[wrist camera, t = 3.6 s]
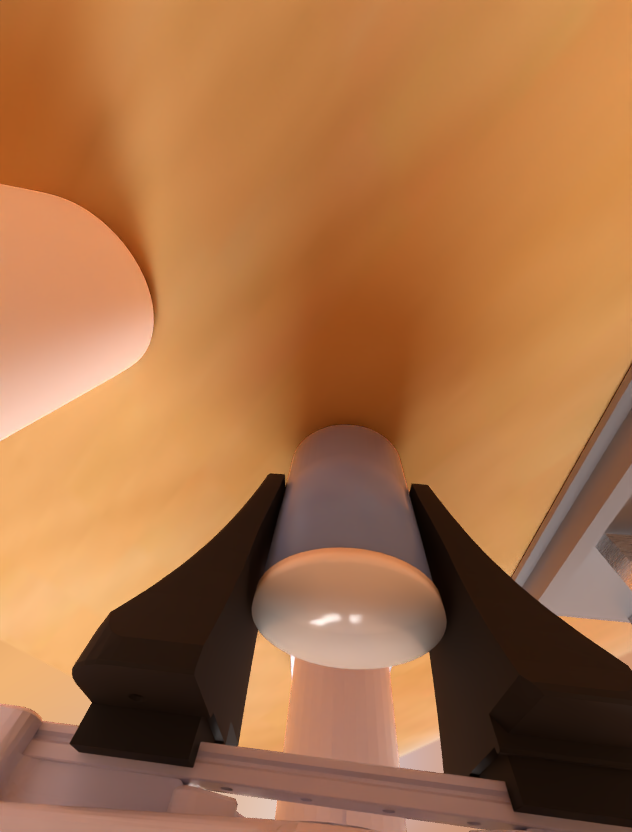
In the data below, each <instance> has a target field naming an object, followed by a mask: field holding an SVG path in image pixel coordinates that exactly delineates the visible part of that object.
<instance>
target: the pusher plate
mask: <svg viewBox="0 0 632 832" xmlns="http://www.w3.org/2000/svg"><path fill="white" fill-rule="evenodd" d="M595 547H596V549H597V550H598V551H599V552H600V553H601V555H602V556H603V557H604V558H605V559H606V561H607V562H608V563H609V564H610V565H611V567H612V568H613V569H614V570H615V571H616V573H617V574H618V575H619V576H620V577H621V579H622V580H623V581H624V582H625V583H626V585H627V586H628V587H629V588H630V589H631V591H632V536H631V535H619V534H606V533H605V534H604V535H603V537H602V538H601V539H600V541H599V542H598V543H597V545H596V546H595Z"/></svg>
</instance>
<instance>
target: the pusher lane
mask: <svg viewBox="0 0 632 832" xmlns="http://www.w3.org/2000/svg"><path fill="white" fill-rule="evenodd" d="M605 533H606V534H619V535H631V536H632V366H631V367H630V369H629V371H628V373H627V374H626V376H625V378H624V380H623V382H622V383H621V385H620V387H619V389H618V390H617V392H616V394H615V396H614V397H613V399H612V401H611V403H610V404H609V406H608V408H607V410H606V412H605V413H604V415H603V417H602V419H601V420H600V422H599V424H598V426H597V427H596V429H595V431H594V433H593V435H592V436H591V438H590V440H589V442H588V443H587V445H586V447H585V449H584V450H583V452H582V454H581V456H580V457H579V459H578V461H577V463H576V465H575V466H574V468H573V470H572V472H571V473H570V475H569V477H568V479H567V480H566V482H565V484H564V486H563V488H562V489H561V491H560V493H559V495H558V496H557V498H556V500H555V502H554V503H553V505H552V507H551V509H550V510H549V512H548V514H547V516H546V518H545V519H544V521H543V523H542V525H541V526H540V528H539V530H538V532H537V533H536V535H535V537H534V539H533V541H532V542H531V544H530V546H529V548H528V549H527V551H526V553H525V555H524V556H523V558H522V560H521V562H520V563H519V565H518V567H517V569H516V571H515V572H514V574H513V576H512V579H513V580H514V581H515V582H516V583H517V584H519V585H520V586H521V587H522V588H523V589H525V590H526V591H527V592H528V593H529V594H530V595H532V596H533V597H534V598H535V599H536V600H538V601H539V602H540V603H541V604H543V605H544V606H545V607H546V608H548V609H549V610H550V611H552V612H553V613H554V614H555V615H557V616H567V617H577V618H587V619H598V620H608V621H618V622H629V623H631V624H632V591H631V589H630V588H629V587H628V586H627V585H626V583H625V582H624V581H623V580H622V579H621V577H620V576H619V575H618V574H617V573H616V571H615V570H614V569H613V568H612V567H611V565H610V564H609V563H608V562H607V561H606V559H605V558H604V557H603V556H602V555H601V553H600V552H599V551H598V550H597V549H596V547H595V546H596V545H597V543H598V542H599V541H600V539H601V538H602V537H603V535H604V534H605Z"/></svg>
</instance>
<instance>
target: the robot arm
mask: <svg viewBox="0 0 632 832" xmlns="http://www.w3.org/2000/svg"><path fill="white" fill-rule="evenodd" d="M284 490H285V474H272V473H270V474H269V475H267V477H266V478H265V480H264V481H263V483H262V484H261V485H260V487H259V488H258V489H257V491H256V492H255V493H254V494H253V496H252V497H251V498H250V499H249V501H248V502H247V503H246V504H245V505H244V506H243V508H242V509H241V510H240V511H239V512H238V513H237V514H236V516H235V517H234V518H233V519H232V520H231V521H230V522H229V523H228V524H227V525H226V526H225V527H224V528H223V529H222V530H221V531H220V532H219V533H218V534H217V535H216V536H215V537H214V538H213V539H212V540H211V541H210V542H208V543H207V544H206V545H205V546H204V547H203V548H202V549H200V550H199V551H198V552H197V553H196V554H194V555H193V556H192V557H191V558H190V559H188V560H187V561H186V562H185V563H183V564H182V565H181V566H180V567H178V568H177V569H175V570H174V571H173V572H171V573H170V574H169V575H167V576H166V577H164V578H163V579H162V580H160V581H159V582H157V583H156V584H155V585H153V586H152V587H150V588H149V589H147V590H146V591H144V592H142V593H141V594H139V595H138V596H136V597H134V598H133V599H131V600H130V601H128V602H126V603H125V604H123V605H122V606H120V607H118V608H117V609H115V610H113V611H111V612H110V613H109V615H108V616H107V618H106V619H105V620H104V622H103V623H102V624H101V625H100V627H99V628H98V630H97V631H96V632H95V634H94V635H93V637H92V639H91V640H90V642H89V643H88V645H87V646H86V648H85V649H84V651H83V652H82V654H81V656H80V657H79V659H78V660H77V662H76V663H75V665H74V666H73V668H72V676H73V679H74V680H75V682H76V684H77V685H78V686H79V687H80V689H81V690H82V691H83V692H84V693H85V695H86V696H87V697H88V698H89V699H90V701H91V702H92V704H91V705H90V707H89V709H88V711H87V713H86V715H85V716H84V718H83V720H82V722H81V723H80V725H79V726H77V725H70V724H62V723H54V722H47V721H42V719H41V717H40V716H39V715H38V714H37V713H36V712H34V711H33V710H31V709H28V708H25V707H20V706H14V705H6V704H0V832H407V830H406V822H405V818H407V819H414V820H421V821H428V822H435V823H443V824H450V825H457V826H464V827H471V828H478V829H485V830H477V831H474V830H472V831H469V832H632V670H631V669H630V668H629V666H628V665H626V664H625V663H623V662H622V661H620V660H619V659H617V658H616V657H614V656H613V655H612V654H610V653H609V652H607V651H606V650H604V649H603V648H601V647H600V646H598V645H597V644H595V643H594V642H592V641H591V640H590V639H588V638H587V637H585V636H584V635H582V634H581V633H580V632H578V631H577V630H575V629H574V628H573V627H571V626H570V625H569V624H567V623H566V622H565V621H563V620H562V619H561V618H559V617H558V616H557V615H555V614H554V613H553V612H552V611H550V610H549V609H548V608H546V607H545V606H544V605H543V604H541V603H540V602H539V601H538V600H536V599H535V598H534V597H533V596H532V595H530V594H529V593H528V592H527V591H526V590H525V589H523V588H522V587H521V586H520V585H519V584H517V583H516V582H515V581H514V580H513V579H512V578H511V577H510V576H508V575H507V574H506V573H505V572H504V571H503V570H502V569H501V568H500V567H499V566H498V565H497V564H496V563H495V562H494V561H492V560H491V559H490V558H489V557H488V556H487V555H486V554H485V553H484V552H483V550H482V549H481V548H480V547H479V546H478V545H477V544H476V543H475V542H474V541H473V540H472V539H471V538H470V536H469V535H468V534H467V533H466V532H465V531H464V530H463V528H462V527H461V526H460V525H459V524H458V523H457V521H456V520H455V519H454V518H453V517H452V515H451V514H450V513H449V512H448V510H447V509H446V508H445V507H444V505H443V504H442V503H441V502H440V500H439V499H438V498H437V496H436V495H435V494H434V493H433V491H432V490H431V489H430V487H429V486H428V485H422V484H412V485H411V489H410V493H409V494H410V497H411V501H412V505H413V509H414V513H415V516H416V520H417V524H418V528H419V531H420V535H421V539H422V543H423V547H424V550H425V554H426V558H427V562H428V565H429V569H430V573H431V577H432V581H433V583H434V585H435V586H436V588H437V589H438V591H439V594H440V596H441V599H442V603H443V606H444V610H445V614H446V619H447V623H446V630H445V633H444V635H443V637H442V639H441V640H440V642H439V643H438V644H437V645H436V646H435V647H434V648H433V649H431V650H430V651H429V653H430V660H431V667H432V674H433V682H434V689H435V697H436V705H437V713H438V722H439V731H440V741H441V749H442V758H443V770H444V773H436V772H428V771H420V770H413V769H405V768H400V765H399V755H398V745H397V736H396V727H395V717H394V708H393V698H392V689H391V679H390V671H391V668H392V666H391V667H385V668H378V669H342V668H334V667H328V666H323V665H318V664H315V663H311V662H308V661H305V660H302V659H299V658H297V657H294V656H292V655H291V679H292V684H291V692H290V700H289V708H288V717H287V725H286V733H285V741H284V749H283V752H276V751H268V750H260V749H253V748H245V747H238V744H239V737H240V731H241V725H242V718H243V712H244V706H245V700H246V694H247V688H248V682H249V677H250V671H251V665H252V659H253V654H254V648H255V643H256V638H257V632H258V629H257V627H256V625H255V623H254V621H253V617H252V603H253V599H254V595H255V591H256V587H257V585H258V582H259V580H260V578H261V577H262V576H263V574H264V570H265V566H266V562H267V558H268V554H269V550H270V546H271V542H272V538H273V534H274V530H275V526H276V522H277V518H278V514H279V510H280V506H281V502H282V498H283V494H284ZM208 790H209V791H208ZM211 791H216V792H223V793H230V794H237V795H245V796H251V797H258V798H265V799H273V800H277V807H276V815H275V820H272V819H257V818H245V817H243V816H242V815H241V814H239V813H238V812H237V811H236V810H237V805H238V804H237V801H236V799H234V798H231V797H228V796H224V795H221V794H218V793H214V792H211Z"/></svg>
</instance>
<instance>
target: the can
mask: <svg viewBox="0 0 632 832" xmlns="http://www.w3.org/2000/svg"><path fill="white" fill-rule="evenodd" d="M153 327H154V312H153V305H152V300H151V295H150V292H149V289H148V286H147V283H146V280H145V278H144V276H143V274H142V272H141V270H140V268H139V266H138V264H137V262H136V261H135V259H134V257H133V256H132V254H131V253H130V251H129V250H128V249H127V247H126V246H125V245H124V243H123V242H122V241H121V240H120V239H119V237H118V236H117V235H116V234H115V233H114V232H113V231H112V230H111V229H110V228H109V227H108V226H107V225H106V224H105V223H103V222H102V221H101V220H100V219H99V218H97V217H96V216H95V215H93V214H92V213H90V212H89V211H88V210H86V209H84V208H83V207H81V206H79V205H77V204H75V203H73V202H71V201H69V200H67V199H64V198H62V197H59V196H55V195H52V194H48V193H44V192H39V191H35V190H30V189H25V188H20V187H14V186H9V185H4V184H0V441H1V440H3V439H5V438H7V437H8V436H10V435H12V434H14V433H16V432H17V431H19V430H21V429H23V428H24V427H26V426H28V425H30V424H32V423H33V422H35V421H37V420H39V419H40V418H42V417H44V416H46V415H47V414H49V413H51V412H53V411H55V410H56V409H58V408H60V407H62V406H63V405H65V404H67V403H69V402H71V401H72V400H74V399H76V398H78V397H79V396H81V395H83V394H85V393H86V392H88V391H90V390H92V389H93V388H95V387H97V386H99V385H100V384H102V383H104V382H106V381H107V380H109V379H111V378H113V377H114V376H116V375H118V374H120V373H121V372H123V371H125V370H126V369H128V368H129V367H131V366H132V365H134V364H135V363H136V362H137V361H138V360H139V359H140V358H141V357H142V356H143V355H144V353H145V352H146V350H147V348H148V346H149V344H150V341H151V338H152V334H153Z"/></svg>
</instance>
